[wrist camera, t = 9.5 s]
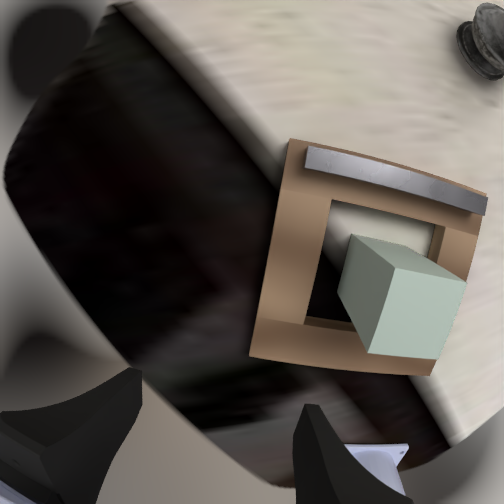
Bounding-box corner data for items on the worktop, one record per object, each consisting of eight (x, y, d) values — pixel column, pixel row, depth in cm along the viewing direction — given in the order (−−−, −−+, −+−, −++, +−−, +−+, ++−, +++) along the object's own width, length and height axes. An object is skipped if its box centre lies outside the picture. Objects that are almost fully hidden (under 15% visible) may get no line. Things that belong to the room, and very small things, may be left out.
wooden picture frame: (422, 365, 22) (429, 375, 20) (250, 345, 22) (248, 356, 21) (475, 192, 18) (486, 193, 17) (288, 141, 19) (289, 138, 17)
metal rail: (472, 213, 17) (484, 215, 16) (302, 168, 18) (304, 167, 16) (475, 195, 17) (487, 197, 16) (305, 148, 17) (308, 145, 16)
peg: (389, 300, 21) (438, 359, 13) (337, 291, 21) (367, 352, 13) (405, 245, 20) (467, 282, 12) (351, 233, 20) (395, 267, 12)
